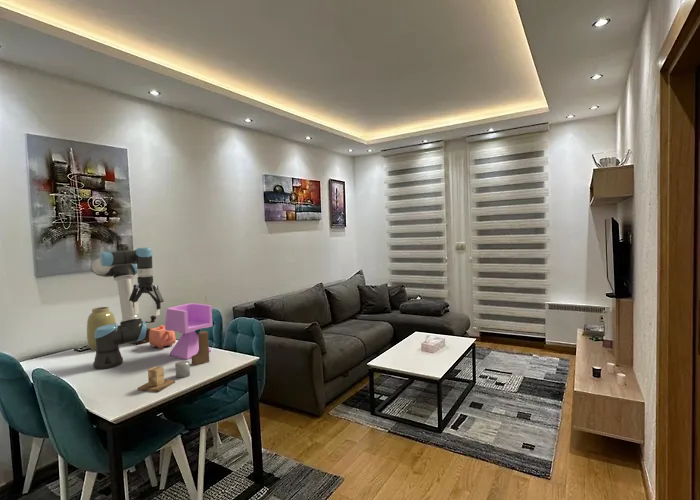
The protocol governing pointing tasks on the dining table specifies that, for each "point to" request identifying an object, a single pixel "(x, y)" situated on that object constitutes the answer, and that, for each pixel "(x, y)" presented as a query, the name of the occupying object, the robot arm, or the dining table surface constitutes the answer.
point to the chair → (188, 327)
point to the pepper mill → (146, 333)
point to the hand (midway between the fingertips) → (147, 314)
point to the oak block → (156, 376)
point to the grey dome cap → (182, 369)
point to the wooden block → (202, 349)
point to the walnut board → (156, 388)
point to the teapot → (161, 337)
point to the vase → (98, 323)
